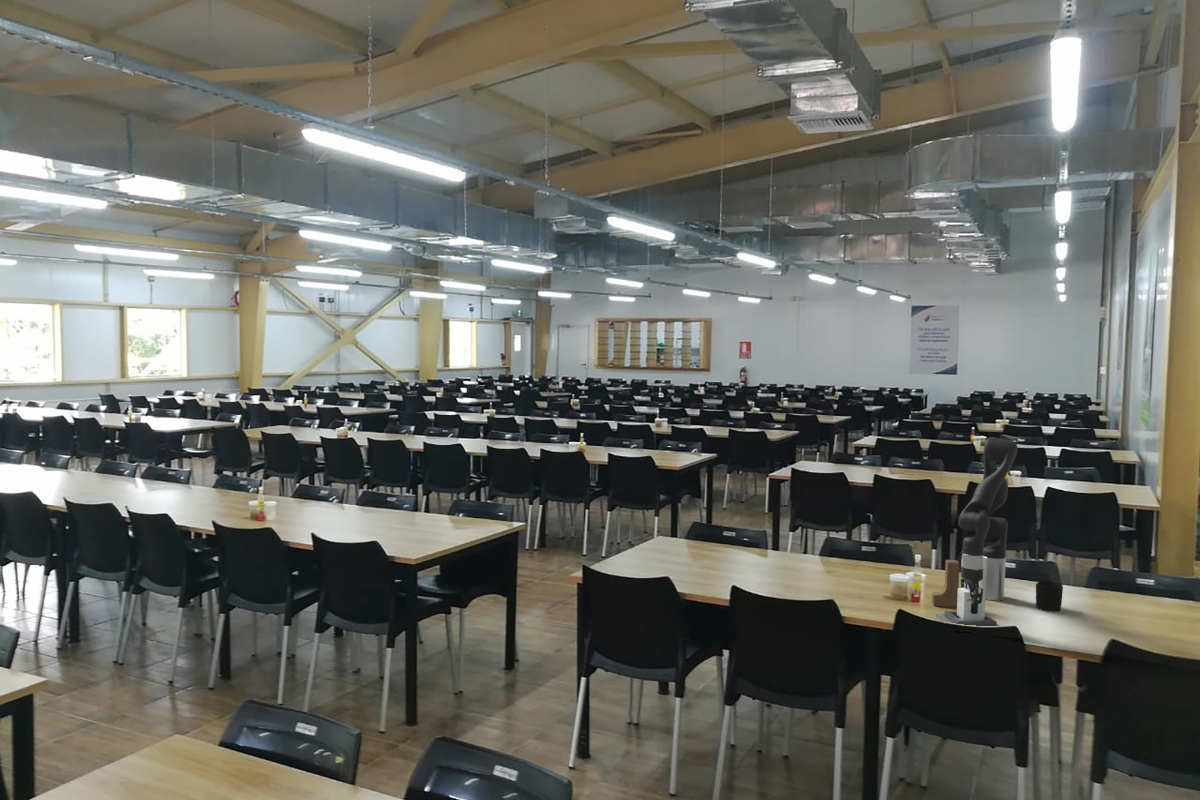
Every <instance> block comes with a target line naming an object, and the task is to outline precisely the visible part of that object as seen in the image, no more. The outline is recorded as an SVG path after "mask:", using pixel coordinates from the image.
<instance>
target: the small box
mask: <svg viewBox="0 0 1200 800" xmlns="http://www.w3.org/2000/svg"><path fill="white" fill-rule="evenodd" d="M971 593H972V595H974V592H971ZM973 599H974V597H973ZM985 608H986V599H985V592H984V591H983V595H982V603H981V604H978V613H977V614H972V613H971V597H970V592H969V591H968V589H965V588H961V587H959V588H958V598H957V608H956V611H957V616H959V617H960V618H962V619H963V620H984V616H985V614H986V612H985V611H986V609H985Z"/></svg>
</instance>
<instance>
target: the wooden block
mask: <svg viewBox="0 0 1200 800" xmlns="http://www.w3.org/2000/svg"><path fill="white" fill-rule="evenodd" d="M944 567H945V568H944V586H943V588H942V589H941V590H940V591H935V592H934V591H933V592H932V593H931V594H932V596H931V597H932V598H931V604H932V605H933V606H934V607H940V608H956V609H957V598H958V588H960V587H959V585H960V567H961V563H960V562H959V561H958V560H957V559H956V560H955V559H954V560H953V559H945V566H944Z"/></svg>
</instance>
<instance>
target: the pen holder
mask: <svg viewBox="0 0 1200 800" xmlns="http://www.w3.org/2000/svg"><path fill="white" fill-rule="evenodd" d="M1063 591H1064V586H1063V584H1062V583H1060V582H1056V581H1052V580H1039V581H1038V582H1037V583H1035V606H1036V608H1037V609H1038V610H1040V609H1041V610H1042V611H1044V610H1045V612H1050V611H1053V612H1052V613H1054V612H1055V611H1058V612H1060V611H1061V609H1062V603H1063ZM1055 613H1056V612H1055Z"/></svg>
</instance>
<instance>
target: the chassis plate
mask: <svg viewBox="0 0 1200 800" xmlns="http://www.w3.org/2000/svg"><path fill="white" fill-rule="evenodd" d="M935 617H936V618H937V619H939V620H940V621H941V620H942V621H946V622H951V623H956V624H964V625H976V626H1000V625H999V624H998V623H997V620H995V619H993V618H992V617H991V616H989V615H988V614H986V613H985V616H984V620H963V619H962V618H960V617H959V616H957V610H944V613H935ZM942 621H941V622H942Z"/></svg>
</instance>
